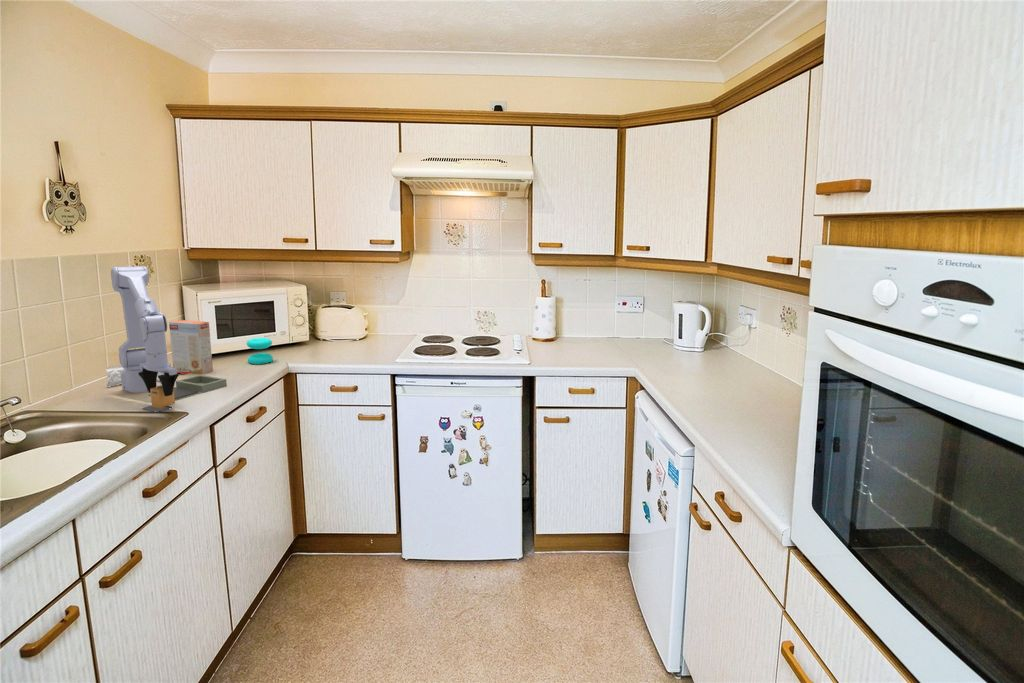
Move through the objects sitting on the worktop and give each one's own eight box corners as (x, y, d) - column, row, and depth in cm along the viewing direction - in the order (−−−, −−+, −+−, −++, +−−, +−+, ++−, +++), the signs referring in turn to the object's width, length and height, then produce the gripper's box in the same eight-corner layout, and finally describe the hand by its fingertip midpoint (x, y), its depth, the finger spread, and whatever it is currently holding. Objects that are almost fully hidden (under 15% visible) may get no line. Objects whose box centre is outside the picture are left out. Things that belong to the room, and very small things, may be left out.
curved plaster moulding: (169, 388, 207) (166, 365, 206) (102, 395, 199) (99, 371, 198) (172, 382, 217) (170, 360, 216) (109, 388, 209) (106, 366, 208)
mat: (142, 409, 183) (142, 407, 183) (166, 402, 190) (165, 401, 190) (157, 412, 181) (157, 411, 180) (180, 405, 188) (180, 404, 188)
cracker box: (214, 373, 228) (209, 321, 224) (202, 376, 222) (197, 323, 218) (185, 370, 232) (180, 319, 228) (173, 373, 226) (168, 321, 222)
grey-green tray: (148, 398, 195) (147, 388, 194) (201, 383, 213) (200, 374, 212) (175, 403, 190) (174, 393, 189) (227, 388, 208) (226, 379, 207)
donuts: (252, 342, 239) (242, 339, 245) (253, 366, 241) (244, 362, 247) (275, 339, 246) (265, 336, 252) (277, 362, 248) (267, 358, 254)
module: (151, 406, 184) (149, 387, 183) (166, 402, 189) (164, 383, 188) (160, 408, 183) (158, 388, 182) (175, 404, 188) (173, 384, 186)
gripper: (183, 352, 183) (187, 393, 185) (152, 347, 188) (156, 387, 191) (162, 357, 176) (167, 399, 179) (131, 351, 182) (136, 393, 185)
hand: (160, 393), depth 185 cm, fingers open, 7 cm apart
